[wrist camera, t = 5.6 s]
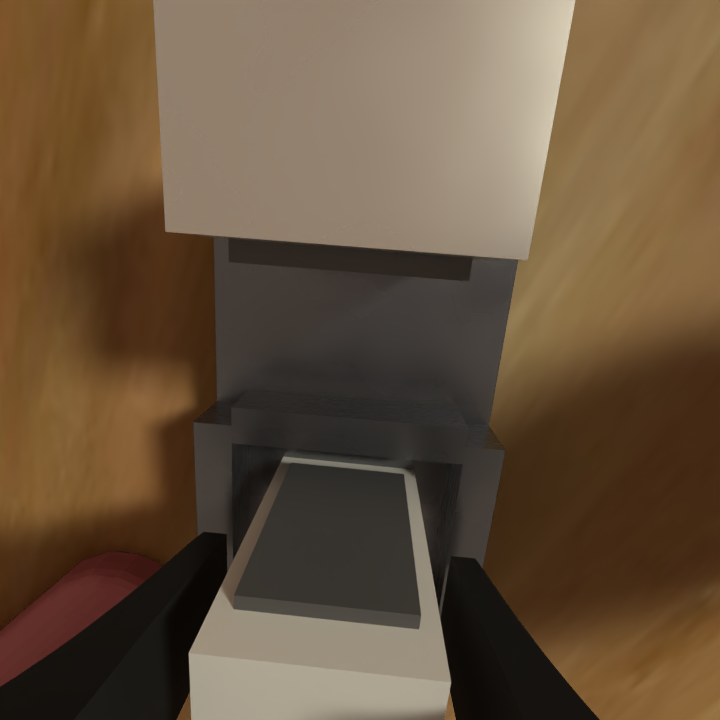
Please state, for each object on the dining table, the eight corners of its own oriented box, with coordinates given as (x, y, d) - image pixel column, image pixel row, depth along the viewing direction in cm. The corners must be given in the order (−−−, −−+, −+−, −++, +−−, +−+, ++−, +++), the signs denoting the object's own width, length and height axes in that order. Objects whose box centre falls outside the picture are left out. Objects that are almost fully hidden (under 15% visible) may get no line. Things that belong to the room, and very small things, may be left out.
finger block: (399, 577, 13) (418, 851, 7) (279, 564, 13) (195, 823, 7) (415, 460, 11) (454, 667, 6) (283, 447, 12) (187, 637, 6)
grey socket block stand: (538, 26, 10) (997, -639, 3) (445, 590, 14) (514, 925, 7) (232, 7, 10) (-153, -663, 3) (236, 569, 15) (97, 875, 7)
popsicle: (-115, 737, 16) (92, 547, 13) (-73, 696, 18) (121, 518, 15) (-12, 804, 17) (205, 640, 14) (19, 760, 19) (221, 603, 16)
